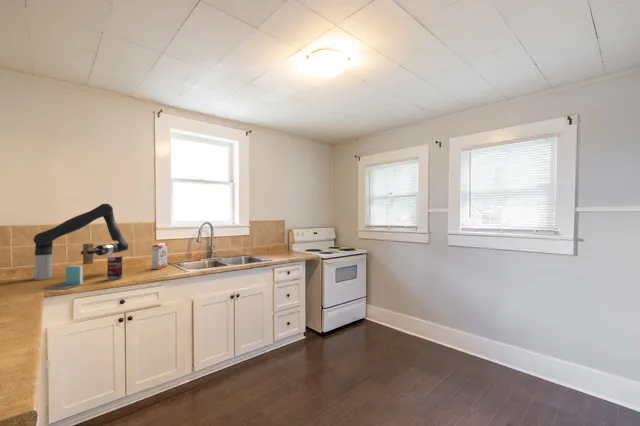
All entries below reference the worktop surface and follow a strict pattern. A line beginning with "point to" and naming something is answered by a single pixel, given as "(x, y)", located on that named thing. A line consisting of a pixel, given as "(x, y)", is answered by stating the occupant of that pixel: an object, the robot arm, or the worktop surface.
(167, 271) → the worktop surface
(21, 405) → the worktop surface
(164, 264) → the cracker box
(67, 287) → the mat
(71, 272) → the teal book
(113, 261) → the supplement box
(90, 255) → the walnut block
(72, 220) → the robot arm
